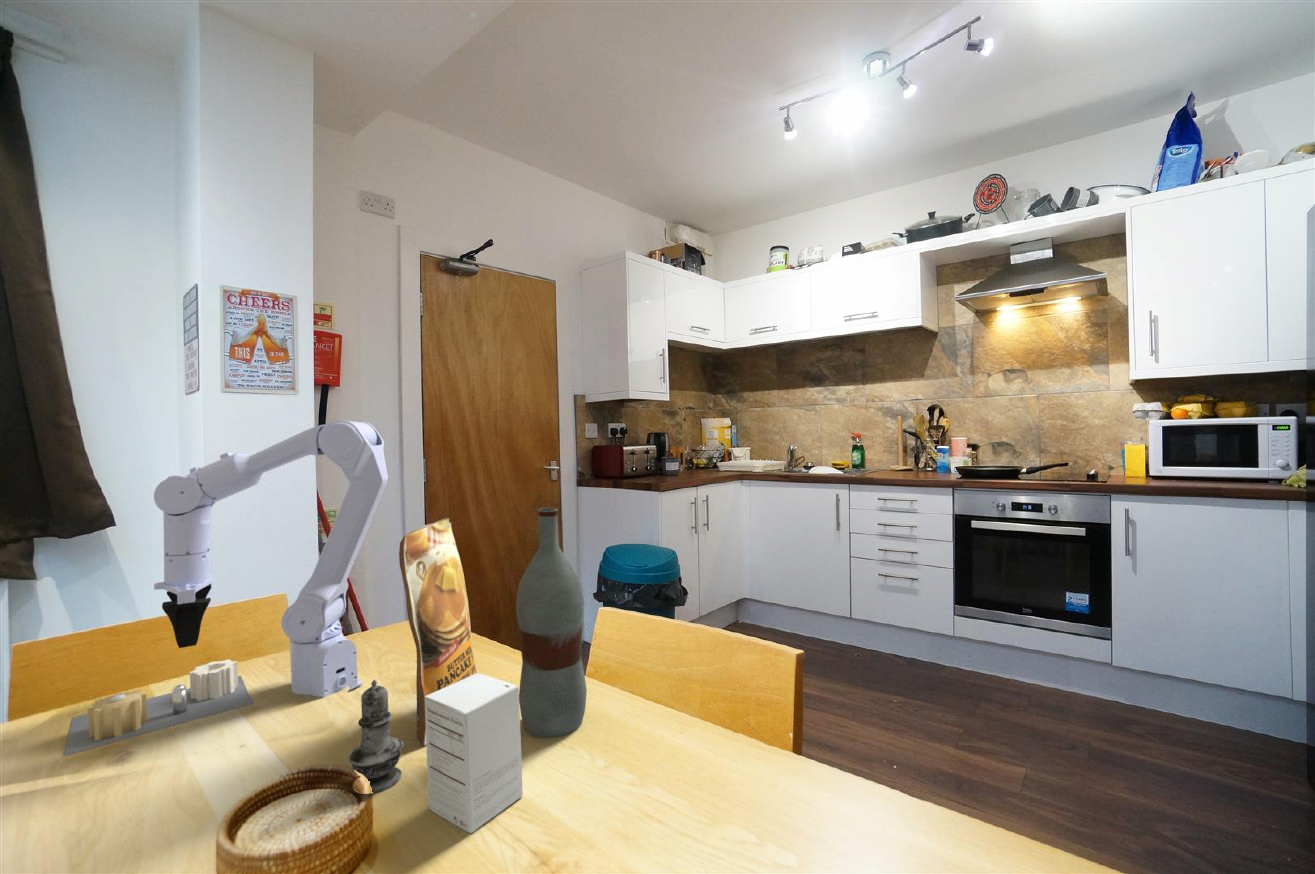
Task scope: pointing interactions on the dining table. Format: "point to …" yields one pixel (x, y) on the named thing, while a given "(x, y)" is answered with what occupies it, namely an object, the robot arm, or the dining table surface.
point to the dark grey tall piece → (377, 742)
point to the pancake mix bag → (436, 611)
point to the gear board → (159, 717)
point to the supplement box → (473, 750)
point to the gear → (213, 680)
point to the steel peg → (179, 699)
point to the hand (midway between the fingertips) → (188, 638)
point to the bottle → (551, 638)
